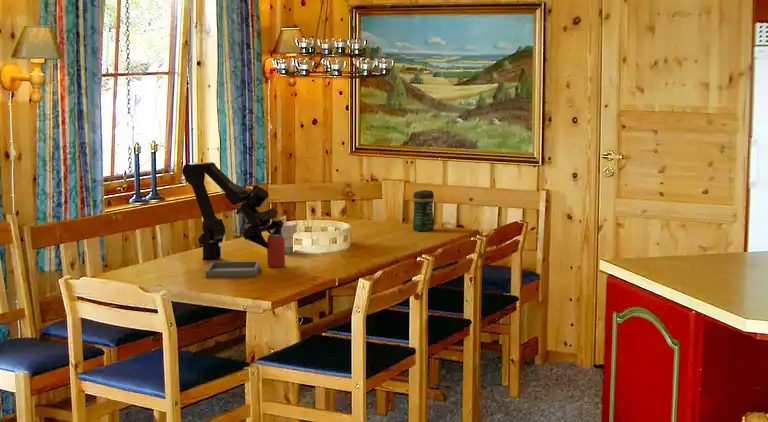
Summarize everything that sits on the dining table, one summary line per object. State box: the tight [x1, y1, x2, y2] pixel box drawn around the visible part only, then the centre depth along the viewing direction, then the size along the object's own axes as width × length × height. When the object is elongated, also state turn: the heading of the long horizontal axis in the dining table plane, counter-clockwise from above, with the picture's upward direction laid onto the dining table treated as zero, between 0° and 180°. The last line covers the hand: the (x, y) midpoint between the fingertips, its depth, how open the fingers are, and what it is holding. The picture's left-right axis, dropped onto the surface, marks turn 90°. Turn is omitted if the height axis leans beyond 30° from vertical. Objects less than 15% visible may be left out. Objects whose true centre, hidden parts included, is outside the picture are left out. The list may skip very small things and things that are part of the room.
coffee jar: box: [412, 189, 435, 232], centre depth 479 cm, size 10×8×19 cm
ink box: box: [279, 214, 298, 255], centre depth 426 cm, size 9×5×15 cm, turn 168°
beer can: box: [266, 234, 286, 269], centre depth 395 cm, size 7×7×12 cm
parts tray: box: [205, 260, 261, 279], centre depth 385 cm, size 18×18×2 cm
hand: (276, 246), depth 395 cm, fingers open, 9 cm apart
